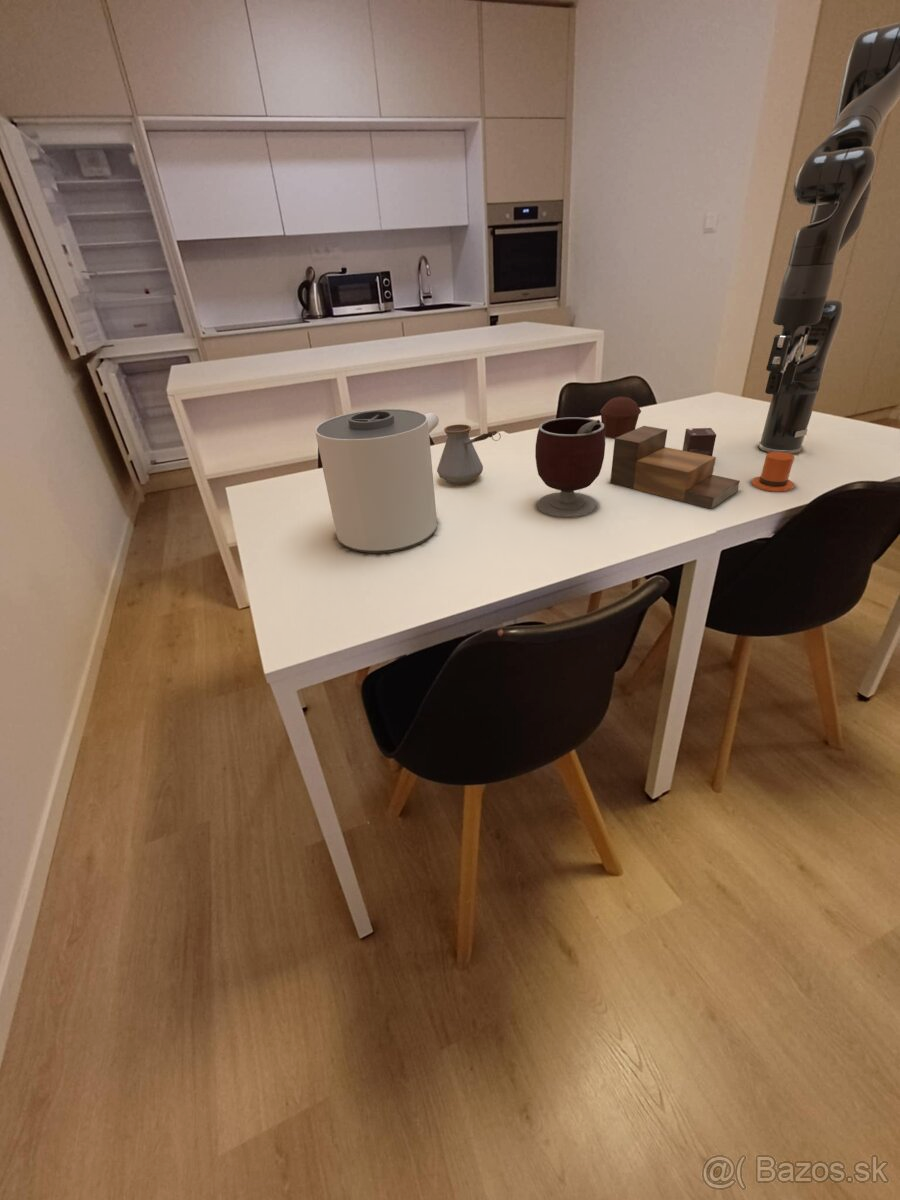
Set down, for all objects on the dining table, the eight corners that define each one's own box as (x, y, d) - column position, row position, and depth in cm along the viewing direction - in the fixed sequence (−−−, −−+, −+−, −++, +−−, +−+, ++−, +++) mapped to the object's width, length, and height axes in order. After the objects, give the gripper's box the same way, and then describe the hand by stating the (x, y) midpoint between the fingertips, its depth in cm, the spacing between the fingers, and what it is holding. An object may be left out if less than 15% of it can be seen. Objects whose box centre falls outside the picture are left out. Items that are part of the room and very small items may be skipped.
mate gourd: (522, 501, 118) (523, 409, 107) (575, 488, 122) (580, 398, 111) (561, 527, 106) (566, 426, 95) (618, 512, 110) (629, 413, 99)
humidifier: (362, 507, 121) (344, 402, 109) (449, 511, 116) (441, 401, 103) (319, 550, 104) (292, 432, 92) (419, 558, 99) (404, 433, 86)
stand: (638, 468, 130) (643, 425, 124) (737, 491, 114) (749, 443, 108) (610, 482, 123) (614, 438, 118) (711, 509, 108) (722, 458, 102)
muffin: (596, 428, 160) (599, 394, 155) (634, 427, 158) (638, 392, 153) (600, 440, 150) (603, 404, 145) (641, 439, 149) (645, 402, 143)
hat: (760, 475, 121) (768, 447, 117) (799, 483, 115) (808, 454, 112) (745, 486, 116) (752, 456, 113) (784, 494, 111) (793, 464, 108)
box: (710, 465, 128) (717, 434, 124) (684, 465, 130) (689, 435, 126) (706, 456, 133) (711, 427, 129) (680, 456, 135) (685, 427, 131)
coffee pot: (429, 479, 134) (423, 419, 125) (466, 468, 138) (463, 409, 130) (478, 504, 118) (475, 437, 110) (518, 491, 123) (518, 426, 115)
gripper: (816, 298, 88) (788, 399, 97) (837, 289, 96) (810, 383, 105) (767, 298, 92) (745, 395, 101) (791, 290, 101) (769, 380, 110)
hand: (778, 389), depth 103 cm, fingers open, 8 cm apart
